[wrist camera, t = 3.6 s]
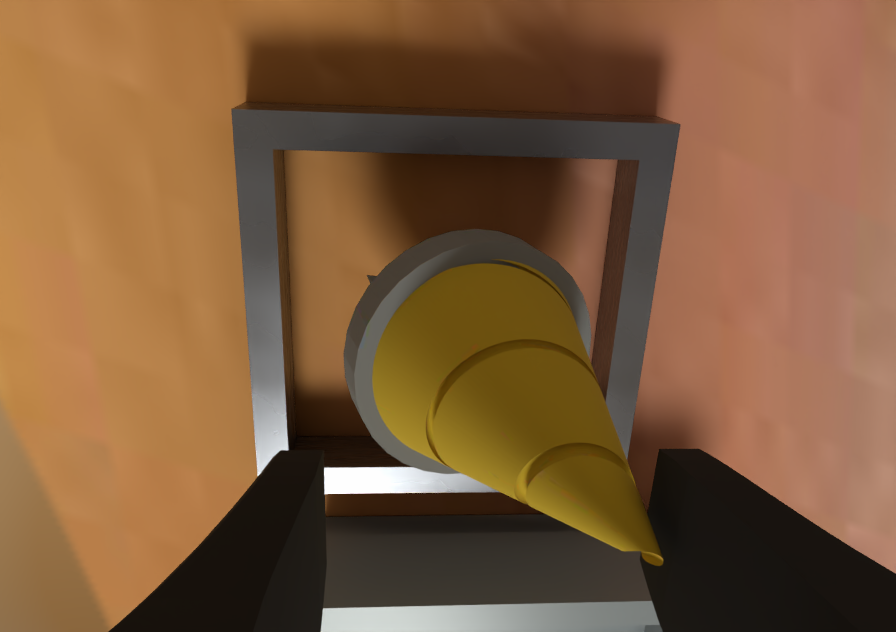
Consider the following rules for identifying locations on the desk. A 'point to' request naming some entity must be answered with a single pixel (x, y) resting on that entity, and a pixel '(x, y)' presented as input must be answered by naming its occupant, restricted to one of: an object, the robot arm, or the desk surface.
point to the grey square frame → (455, 133)
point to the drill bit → (494, 381)
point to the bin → (479, 577)
